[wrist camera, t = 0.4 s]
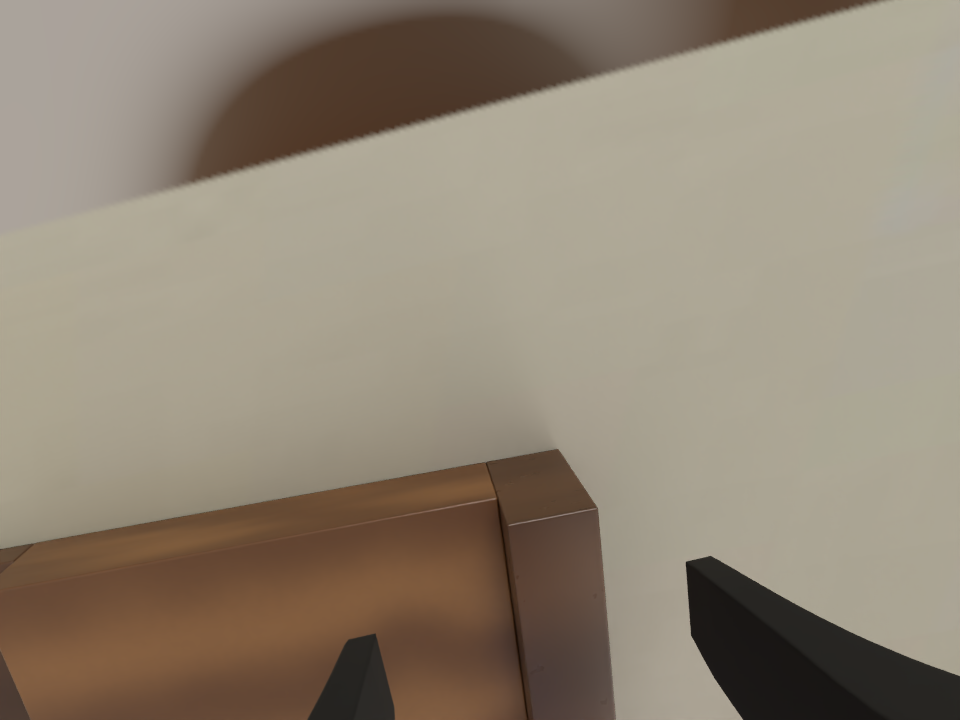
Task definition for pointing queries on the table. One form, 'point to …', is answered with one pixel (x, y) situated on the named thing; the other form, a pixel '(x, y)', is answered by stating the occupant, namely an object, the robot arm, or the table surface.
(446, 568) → the step shelf
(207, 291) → the table surface
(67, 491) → the table surface
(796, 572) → the table surface
